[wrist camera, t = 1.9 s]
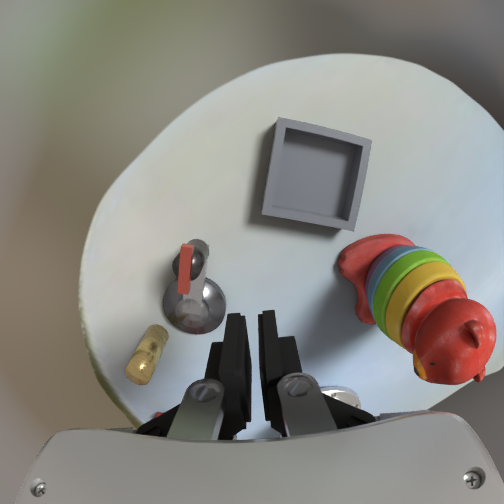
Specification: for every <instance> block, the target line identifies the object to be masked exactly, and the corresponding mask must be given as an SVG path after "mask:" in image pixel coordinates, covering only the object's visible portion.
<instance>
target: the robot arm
mask: <svg viewBox="0 0 504 504" xmlns="http://www.w3.org/2000/svg"><path fill="white" fill-rule="evenodd" d="M258 333H259V368H260V379H261V387H262V396H263V404H264V412H265V420H266V421H270V422H271V427H272V428H273V429H275V430H276V431H278V432H280V436H281V438H270V439H253V440H237V435H236V434H237V433H238V432H240V431H241V430H242V429H246V422H251V383H252V365H251V356H250V349H249V341H248V334H247V327H246V319H245V316H241V315H240V313H230V314H228V315H227V321H226V327H225V334H224V340H223V342H213V343H212V344H211V349H210V353H209V358H208V363H207V368H206V372H205V377H204V379H201V380H197V381H195V382H193V383H192V384H191V385H190V386H189V387H188V388H187V390H186V392H185V394H184V397H183V399H182V402H181V404H179V405H177V406H176V407H174V408H172V409H170V410H169V411H167V412H165V413H163V414H161V415H160V416H158V417H156V418H154V419H152V420H150V421H149V422H147V423H145V424H143V425H142V426H140V427H139V428H138V429H137V430H134V428H133V427H130V428H113V429H96V428H73V429H66V430H62V431H59V432H57V433H55V434H54V435H52V436H51V437H50V438H49V439H48V440H47V442H46V443H45V444H44V446H43V447H42V449H41V450H40V452H39V454H38V455H37V457H36V458H35V460H34V462H33V464H32V466H31V467H30V469H29V471H28V473H27V475H26V477H25V480H24V482H23V484H22V486H21V489H20V491H19V493H18V496H17V498H16V501H15V503H14V504H504V484H503V482H502V479H501V477H500V475H499V473H498V471H497V469H496V467H495V465H494V463H493V461H492V459H491V457H490V455H489V453H488V452H487V450H486V448H485V447H484V445H483V444H482V442H481V440H480V439H479V437H478V436H477V434H476V433H475V432H474V430H473V429H472V428H471V427H470V426H469V425H468V423H467V422H466V421H465V420H463V419H462V418H461V417H459V416H457V415H455V414H452V413H446V412H432V411H430V410H421V411H411V412H399V413H382V414H380V415H379V416H373V415H372V414H370V413H368V412H366V411H364V410H361V403H360V400H359V398H358V396H357V395H356V393H354V392H353V391H351V390H349V389H347V388H342V387H324V388H320V387H319V385H318V383H317V381H316V380H315V378H314V377H312V376H311V375H309V374H306V373H302V369H301V364H300V360H299V355H298V350H297V346H296V341H295V337H294V336H289V337H279V338H278V333H277V325H276V318H275V310H267V311H263V314H258Z"/></svg>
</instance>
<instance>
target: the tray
mask: <svg viewBox="0 0 504 504" xmlns="http://www.w3.org/2000/svg"><path fill="white" fill-rule="evenodd" d="M371 143H372V140H369V139H366V138H362V137H359V136H356V135H352V134H349V133H345V132H341V131H338V130H334V129H330V128H326V127H322V126H318V125H314V124H309V123H305V122H300V121H295V120H290V119H285V118H280V117H278V119H277V121H276V126H275V131H274V137H273V143H272V149H271V155H270V161H269V166H268V172H267V178H266V184H265V190H264V195H263V201H262V207H261V213H262V215H268V216H274V217H280V218H286V219H291V220H297V221H303V222H308V223H314V224H319V225H324V226H330V227H335V228H340V229H345V230H350V231H354V228H355V224H356V220H357V216H358V211H359V207H360V202H361V197H362V192H363V188H364V182H365V177H366V172H367V166H368V161H369V155H370V149H371Z"/></svg>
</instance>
